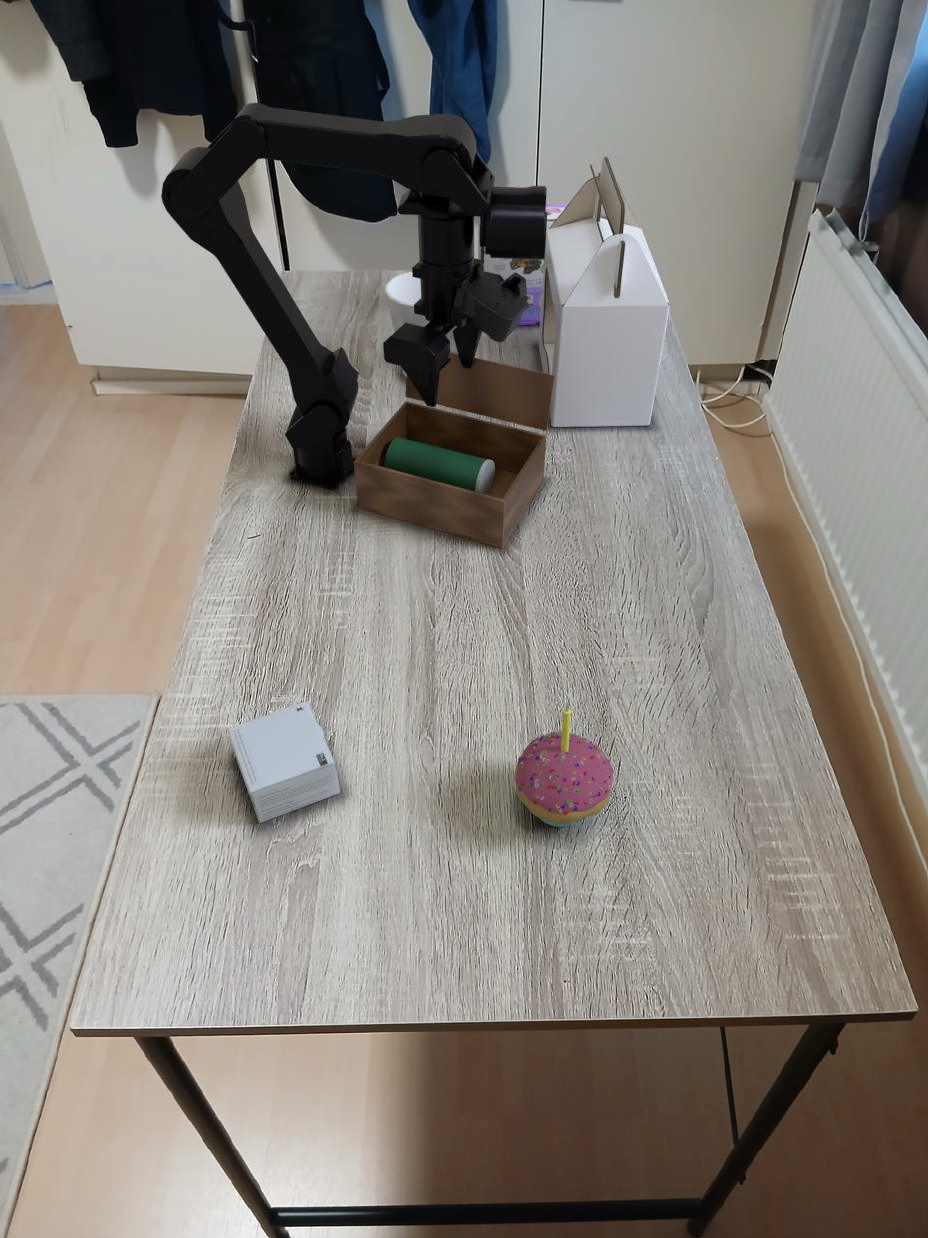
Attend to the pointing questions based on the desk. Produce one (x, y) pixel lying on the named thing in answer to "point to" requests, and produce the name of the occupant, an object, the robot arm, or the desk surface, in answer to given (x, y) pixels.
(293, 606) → the desk surface
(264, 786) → the small box
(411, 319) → the cup
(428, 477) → the crisps tube
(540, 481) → the snack box
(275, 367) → the desk surface
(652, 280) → the gable box
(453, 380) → the flap
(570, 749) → the cupcake
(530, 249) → the robot arm
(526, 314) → the candy box
